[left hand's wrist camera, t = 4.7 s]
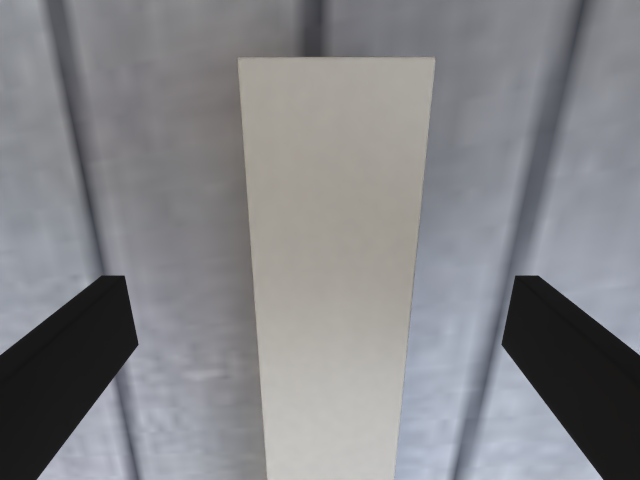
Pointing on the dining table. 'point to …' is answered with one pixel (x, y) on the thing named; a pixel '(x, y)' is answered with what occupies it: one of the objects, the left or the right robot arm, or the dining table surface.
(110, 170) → the dining table surface
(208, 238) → the dining table surface
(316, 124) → the beam
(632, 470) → the left robot arm
